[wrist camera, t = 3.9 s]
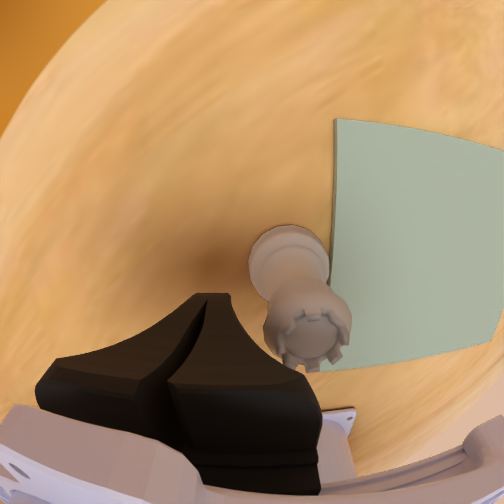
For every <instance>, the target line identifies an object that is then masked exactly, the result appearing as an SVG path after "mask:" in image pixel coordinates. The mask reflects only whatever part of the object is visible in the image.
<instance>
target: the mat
mask: <svg viewBox="0 0 504 504" xmlns="http://www.w3.org/2000/svg"><path fill="white" fill-rule="evenodd" d="M328 286H329V287H330V288H331V289H332V291H333V292H334V293H336V294H337V295H338V296H339V297H340V298H342V299H343V300H344V301H345V302H346V303H347V305H348V307H349V310H350V312H351V314H352V326H351V332H350V338H349V346H342V347H341V348H340V351H341V353H342V356H343V357H342V358H341V359H339V360H338V361H337V362H336V363H335V364H334V365H332V364H331V363H330V362H329V361H328V359H326V360H324V361H322V362H319V363H318V365H319V369H320V371H319V372H326V371H337V370H346V369H355V368H363V367H371V366H378V365H385V364H391V363H397V362H403V361H408V360H414V359H419V358H424V357H429V356H434V355H438V354H443V353H447V352H452V351H456V350H460V349H464V348H468V347H471V346H475V345H479V344H482V343H486V342H489V341H491V340H492V338H493V335H494V333H495V330H496V327H497V325H498V322H499V319H500V316H501V313H502V310H503V307H504V151H502V150H499V149H496V148H493V147H489V146H486V145H482V144H479V143H475V142H472V141H468V140H464V139H460V138H456V137H452V136H448V135H443V134H439V133H434V132H429V131H424V130H419V129H413V128H408V127H402V126H396V125H389V124H382V123H375V122H367V121H358V120H349V119H338V118H337V119H334V190H333V215H332V233H331V249H330V262H329V277H328Z"/></svg>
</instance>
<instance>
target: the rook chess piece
mask: <svg viewBox="0 0 504 504" xmlns="http://www.w3.org/2000/svg"><path fill="white" fill-rule="evenodd" d="M248 265H249V274H250V278H251V282H252V284H253V286H254V287H255V289H256V291H257V292H258V294H259V295H260V296H261V297H262V298H264V299H265V300H266V301H268V302H269V304H268V306H267V308H268V315H267V318H266V320H265V323H264V326H263V331H264V341H265V343H266V344H267V346H268V347H269V349H270V350H271V352H272V353H273V354H274V355H276V356H278V357H279V358H281V359H282V361H283V365H285V366H287V367H289V368H291V369H293V370H295V368H296V367H297V366H298V364H301V365H305V369H306V373H311V372H318V371H320V369H319V365H318V363H319V362H322V361H324V360H326V359H328V361H329V362H330V363H331V364H332V365H334V364H335V363H336V362H337V361H338V360H339V359H341V358H342V357H343V356H342V353H341V351H340V348H341V347H342V346H349V338H350V332H351V326H352V314H351V312H350V310H349V307H348V305H347V303H346V302H345V301H344V300H343V299H342V298H340V297H339V296H338V295H337V294H336V293H334V292H333V291H332V289H331V288H330V287H329V286H328V285H327V284H326V282H327V279H328V277H329V257H328V255H327V253H326V251H325V249H324V247H323V244H322V242H321V240H320V239H319V238H318V237H317V236H316V235H314V234H313V233H312V232H311V231H310V230H308V229H305V228H302V227H299V226H295V225H287V226H277V227H275V228H273V229H271V230H270V231H268V232H266V233H264V234H262V236H261V237H260V238H259V239H258V240H257V241H256V243H255V244H254V245H253V246H252V249H251V253H250V256H249V259H248Z"/></svg>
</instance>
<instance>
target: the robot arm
mask: <svg viewBox="0 0 504 504" xmlns="http://www.w3.org/2000/svg"><path fill="white" fill-rule="evenodd" d="M35 396H36V400H37V403H38V405H39V407H40V409H39V408H36V407H34V406H27V405H18V404H15V405H14V406H13V407H12V409H11V410H10V412H9V413H8V414H7V416H6V417H5V419H4V420H3V422H2V423H1V424H0V500H1V501H2V502H3V503H5V504H494V503H495V502H496V501H497V500H499V499H500V498H501V497H502V496H503V495H504V417H503V416H502V415H499V416H497V417H495V418H493V419H491V420H489V421H487V422H485V423H482V424H480V425H479V426H477V427H476V428H474V429H473V430H472V431H471V432H470V433H469V434H468V435H467V437H466V438H465V440H464V442H463V444H462V445H460V446H457V447H455V448H453V449H450V450H448V451H445V452H443V453H440V454H438V455H435V456H432V457H429V458H427V459H424V460H421V461H418V462H415V463H412V464H408V465H405V466H402V467H399V468H395V469H391V470H388V471H384V472H380V473H376V474H371V475H367V476H362V477H358V476H357V472H356V469H355V465H354V461H353V458H352V454H351V451H350V447H349V444H348V440H347V439H348V436H349V434H350V431H351V428H352V426H353V423H354V420H355V417H356V414H357V412H356V409H354V408H350V409H343V410H335V411H327V412H321V408H320V406H319V403H318V401H317V398H316V396H315V394H314V392H313V390H312V388H311V386H310V384H309V383H308V381H307V379H306V377H305V376H304V375H303V374H301V373H299V372H297V371H295V370H293V369H291V368H289V367H287V366H285V365H283V364H281V363H280V362H278V361H276V360H275V359H273V358H272V357H271V356H269V355H268V354H267V353H266V352H264V351H263V350H262V349H261V348H260V347H259V346H258V345H257V344H256V343H255V342H254V341H253V340H252V339H251V338H250V336H249V335H248V334H247V333H246V331H245V330H244V328H243V327H242V325H241V324H240V322H239V320H238V318H237V316H236V314H235V312H234V310H233V308H232V305H231V296H230V295H229V294H228V293H196V294H194V295H193V296H192V297H190V298H189V299H188V300H187V301H185V302H184V303H183V304H182V305H181V306H179V307H178V308H177V309H176V310H174V311H173V312H172V313H171V314H169V315H168V316H166V317H165V318H163V319H162V320H161V321H159V322H158V323H156V324H155V325H153V326H152V327H150V328H148V329H147V330H145V331H143V332H141V333H139V334H137V335H135V336H133V337H131V338H129V339H127V340H124V341H122V342H119V343H117V344H115V345H112V346H109V347H106V348H103V349H100V350H96V351H93V352H89V353H85V354H80V355H75V356H69V357H63V358H56V359H55V361H54V362H53V363H52V365H51V366H50V367H49V369H48V370H47V371H46V372H45V374H44V375H43V376H42V378H41V379H40V380H39V382H38V383H37V384H36V387H35Z"/></svg>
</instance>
